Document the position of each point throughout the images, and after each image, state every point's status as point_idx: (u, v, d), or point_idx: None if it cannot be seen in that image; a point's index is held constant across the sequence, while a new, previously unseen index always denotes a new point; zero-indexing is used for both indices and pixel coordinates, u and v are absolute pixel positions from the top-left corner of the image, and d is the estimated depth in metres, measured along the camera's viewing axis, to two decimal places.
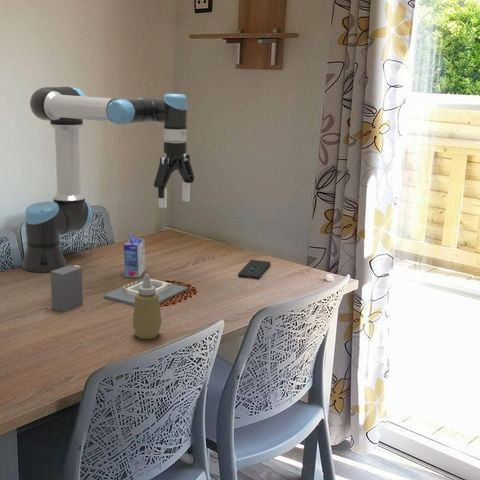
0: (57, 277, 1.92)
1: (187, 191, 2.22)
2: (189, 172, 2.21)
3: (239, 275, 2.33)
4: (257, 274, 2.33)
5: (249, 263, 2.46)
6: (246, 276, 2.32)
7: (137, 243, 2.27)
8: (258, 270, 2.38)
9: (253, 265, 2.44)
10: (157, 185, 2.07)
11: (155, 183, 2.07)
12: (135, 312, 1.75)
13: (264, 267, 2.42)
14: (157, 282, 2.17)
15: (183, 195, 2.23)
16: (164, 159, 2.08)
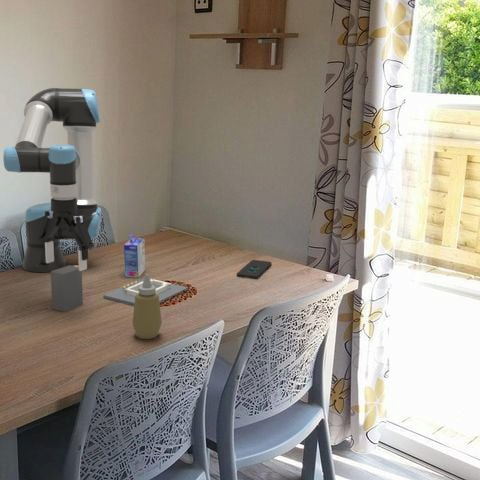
0: (57, 277, 1.92)
1: None
2: None
3: (238, 275, 2.33)
4: (256, 274, 2.33)
5: (250, 263, 2.46)
6: (244, 276, 2.32)
7: (137, 243, 2.27)
8: (258, 270, 2.38)
9: (253, 265, 2.44)
10: None
11: None
12: (135, 312, 1.75)
13: (264, 267, 2.42)
14: (157, 282, 2.17)
15: None
16: None
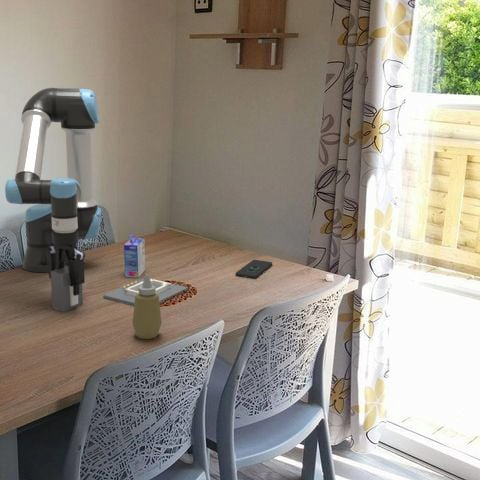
0: (57, 277, 1.92)
1: None
2: None
3: (236, 274, 2.33)
4: (255, 274, 2.33)
5: (250, 263, 2.47)
6: (243, 275, 2.33)
7: (137, 243, 2.27)
8: (257, 270, 2.38)
9: (253, 265, 2.44)
10: None
11: None
12: (135, 312, 1.75)
13: (264, 267, 2.42)
14: (157, 282, 2.17)
15: None
16: None
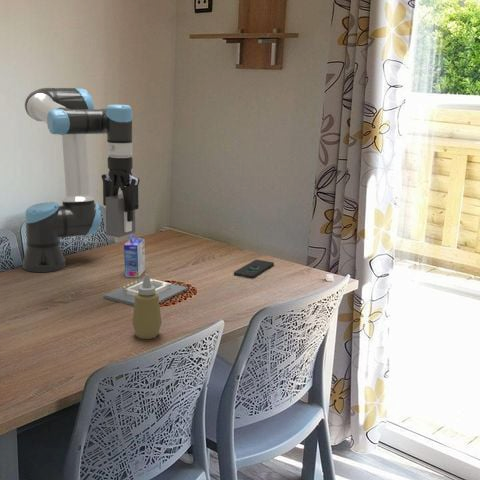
0: (112, 202, 1.96)
1: None
2: None
3: (234, 273, 2.34)
4: (253, 273, 2.33)
5: (251, 263, 2.47)
6: (241, 275, 2.33)
7: (137, 243, 2.27)
8: (256, 270, 2.38)
9: (254, 264, 2.45)
10: None
11: None
12: (135, 312, 1.75)
13: (264, 267, 2.42)
14: (157, 282, 2.17)
15: None
16: None
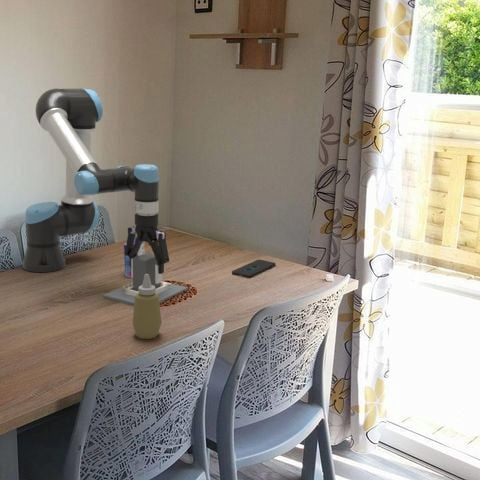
0: (139, 263, 2.05)
1: None
2: None
3: (232, 273, 2.35)
4: (250, 273, 2.34)
5: (253, 262, 2.47)
6: (238, 274, 2.34)
7: None
8: (255, 269, 2.38)
9: (255, 264, 2.45)
10: None
11: None
12: (135, 312, 1.75)
13: (264, 267, 2.42)
14: None
15: None
16: None
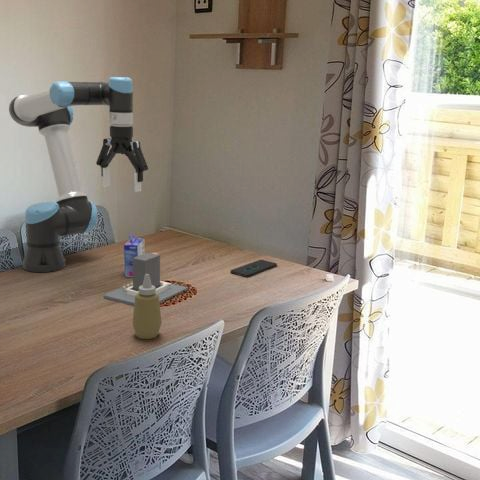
0: (139, 263, 2.05)
1: None
2: None
3: (231, 271, 2.36)
4: (248, 273, 2.34)
5: (254, 262, 2.47)
6: (236, 273, 2.35)
7: (137, 243, 2.27)
8: (254, 269, 2.39)
9: (255, 264, 2.45)
10: None
11: None
12: (135, 312, 1.75)
13: (264, 267, 2.41)
14: None
15: None
16: None
